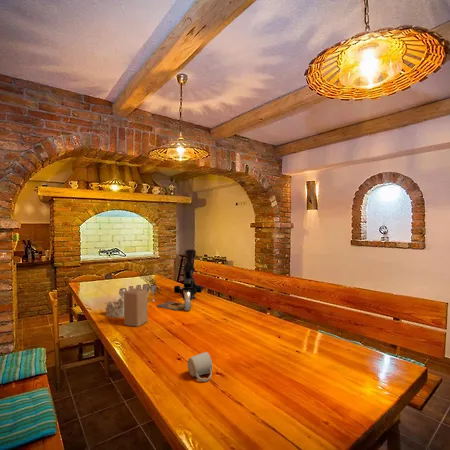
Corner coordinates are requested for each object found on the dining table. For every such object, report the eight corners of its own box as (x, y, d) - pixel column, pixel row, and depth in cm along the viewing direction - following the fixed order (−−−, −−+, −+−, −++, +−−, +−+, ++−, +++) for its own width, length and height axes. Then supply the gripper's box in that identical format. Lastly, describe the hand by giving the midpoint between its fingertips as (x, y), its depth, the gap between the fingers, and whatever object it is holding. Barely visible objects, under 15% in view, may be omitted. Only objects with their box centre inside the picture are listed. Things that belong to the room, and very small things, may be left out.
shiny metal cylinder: (187, 307, 200) (187, 289, 200) (192, 308, 198) (192, 289, 198) (183, 309, 196) (182, 290, 196) (188, 310, 194) (188, 291, 194)
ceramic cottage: (138, 311, 197) (136, 289, 196) (120, 319, 182) (118, 296, 181) (120, 310, 203) (119, 288, 203) (102, 318, 188) (100, 295, 188)
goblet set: (155, 299, 228) (154, 282, 228) (157, 301, 223) (157, 283, 223) (118, 305, 213) (117, 287, 213) (119, 306, 208) (119, 288, 208)
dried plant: (176, 274, 237) (152, 248, 268) (140, 283, 218) (119, 254, 248) (172, 304, 249) (149, 276, 279) (137, 315, 229) (117, 283, 260)
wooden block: (148, 321, 176) (147, 289, 176) (138, 327, 167) (137, 292, 166) (134, 320, 179) (133, 287, 179) (123, 325, 170) (123, 291, 170)
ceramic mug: (186, 372, 116) (186, 353, 116) (204, 367, 121) (204, 348, 120) (197, 385, 107) (197, 365, 107) (216, 379, 111) (216, 359, 111)
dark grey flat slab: (170, 301, 220) (170, 298, 220) (190, 305, 209) (190, 301, 209) (156, 306, 208) (156, 302, 208) (177, 310, 198) (177, 306, 198)
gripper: (174, 274, 200) (172, 294, 189) (201, 273, 201) (201, 293, 190) (175, 283, 208) (173, 302, 197) (201, 282, 209) (201, 302, 198)
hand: (187, 300), depth 196 cm, fingers closed on shiny metal cylinder, 4 cm apart
